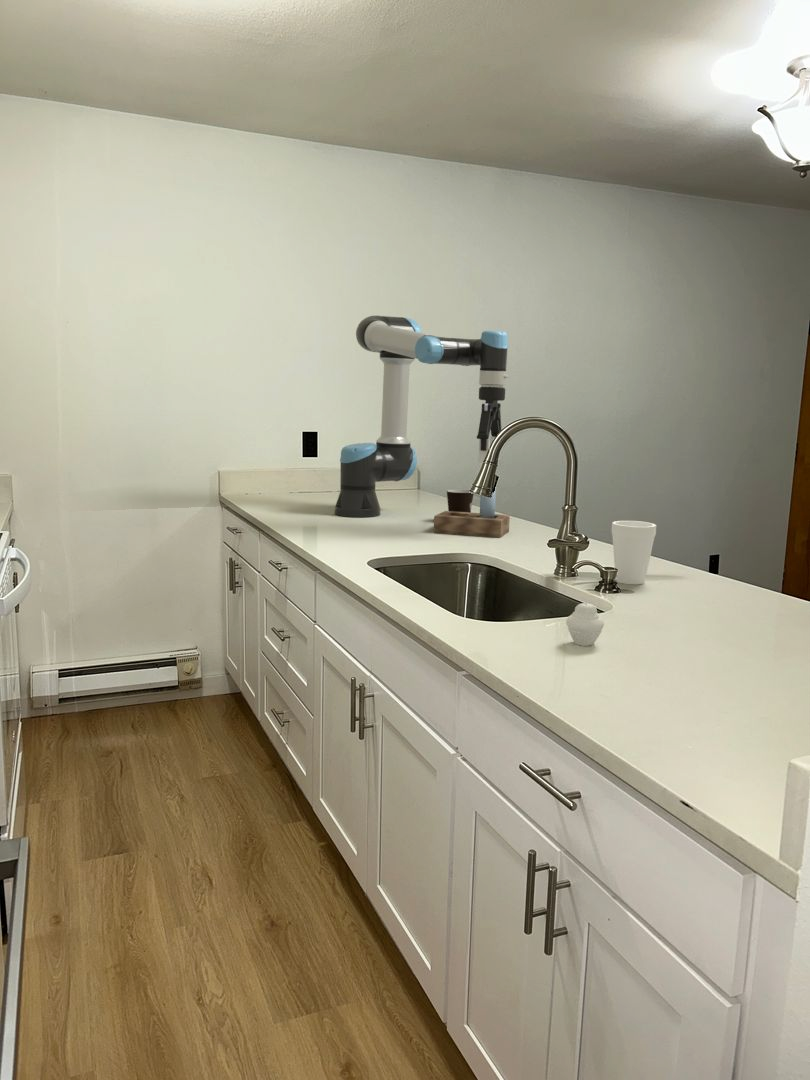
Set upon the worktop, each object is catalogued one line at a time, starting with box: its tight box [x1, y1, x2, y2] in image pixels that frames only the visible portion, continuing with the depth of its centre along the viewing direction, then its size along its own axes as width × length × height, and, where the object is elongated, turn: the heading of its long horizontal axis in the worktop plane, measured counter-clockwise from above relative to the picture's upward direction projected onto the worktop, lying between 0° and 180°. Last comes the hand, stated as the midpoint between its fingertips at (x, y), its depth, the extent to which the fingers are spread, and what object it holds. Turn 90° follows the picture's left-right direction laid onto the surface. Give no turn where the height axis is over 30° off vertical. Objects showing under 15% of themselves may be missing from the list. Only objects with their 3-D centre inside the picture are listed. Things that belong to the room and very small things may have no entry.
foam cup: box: [611, 520, 657, 585], centre depth 189 cm, size 10×9×13 cm
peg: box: [479, 486, 497, 519], centre depth 249 cm, size 4×4×15 cm
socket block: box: [433, 510, 511, 539], centre depth 251 cm, size 20×12×5 cm, turn 72°
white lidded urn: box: [565, 602, 605, 647], centre depth 141 cm, size 6×6×7 cm
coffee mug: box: [446, 489, 474, 513], centre depth 271 cm, size 12×9×10 cm
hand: (488, 460), depth 247 cm, fingers open, 13 cm apart
